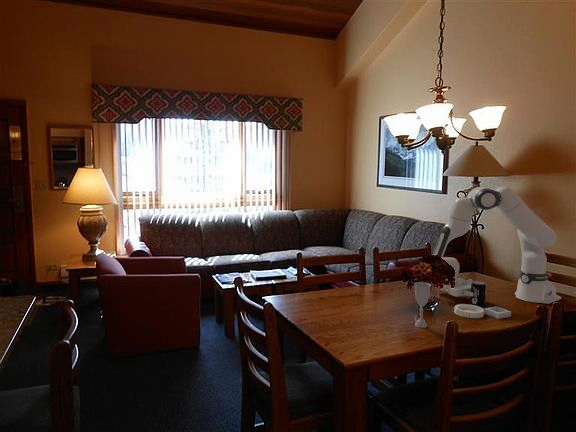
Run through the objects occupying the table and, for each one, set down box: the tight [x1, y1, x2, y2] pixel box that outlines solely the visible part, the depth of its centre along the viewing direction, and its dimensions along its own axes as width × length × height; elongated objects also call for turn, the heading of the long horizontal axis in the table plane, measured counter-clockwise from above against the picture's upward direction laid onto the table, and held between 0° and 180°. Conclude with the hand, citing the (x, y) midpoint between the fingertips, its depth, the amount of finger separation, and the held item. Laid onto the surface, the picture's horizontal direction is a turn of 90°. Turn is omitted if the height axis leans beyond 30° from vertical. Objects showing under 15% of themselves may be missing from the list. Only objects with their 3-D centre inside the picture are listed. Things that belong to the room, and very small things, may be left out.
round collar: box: [453, 303, 485, 319], centre depth 204 cm, size 12×12×2 cm
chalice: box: [413, 281, 432, 328], centre depth 188 cm, size 7×7×18 cm
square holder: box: [483, 305, 512, 320], centre depth 202 cm, size 8×8×2 cm
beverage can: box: [469, 280, 487, 309], centre depth 214 cm, size 7×7×12 cm
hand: (479, 293), depth 213 cm, fingers closed on beverage can, 7 cm apart
